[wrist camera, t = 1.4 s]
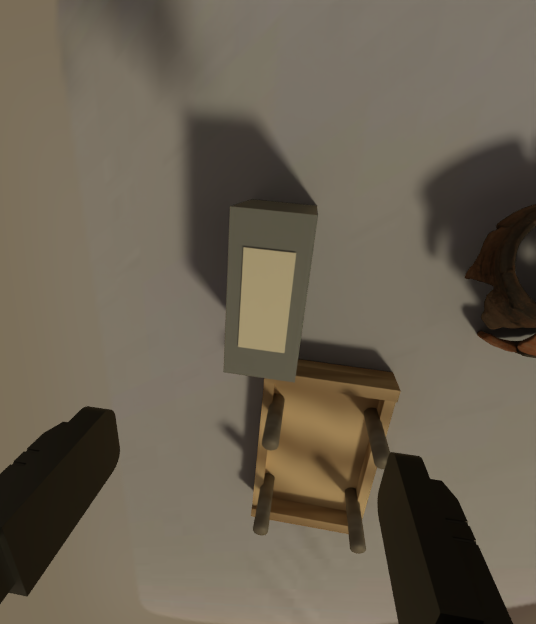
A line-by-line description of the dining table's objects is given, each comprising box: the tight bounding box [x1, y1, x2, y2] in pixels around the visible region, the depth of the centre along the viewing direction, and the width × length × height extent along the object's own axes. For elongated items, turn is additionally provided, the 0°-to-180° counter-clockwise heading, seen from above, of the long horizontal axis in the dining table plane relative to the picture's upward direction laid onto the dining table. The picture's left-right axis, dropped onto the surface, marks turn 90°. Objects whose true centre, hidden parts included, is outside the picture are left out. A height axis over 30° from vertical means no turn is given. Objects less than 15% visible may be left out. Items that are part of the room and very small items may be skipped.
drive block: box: [224, 199, 318, 383], centre depth 22 cm, size 10×4×7 cm, turn 175°
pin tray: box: [251, 359, 400, 553], centre depth 27 cm, size 16×10×6 cm, turn 175°
